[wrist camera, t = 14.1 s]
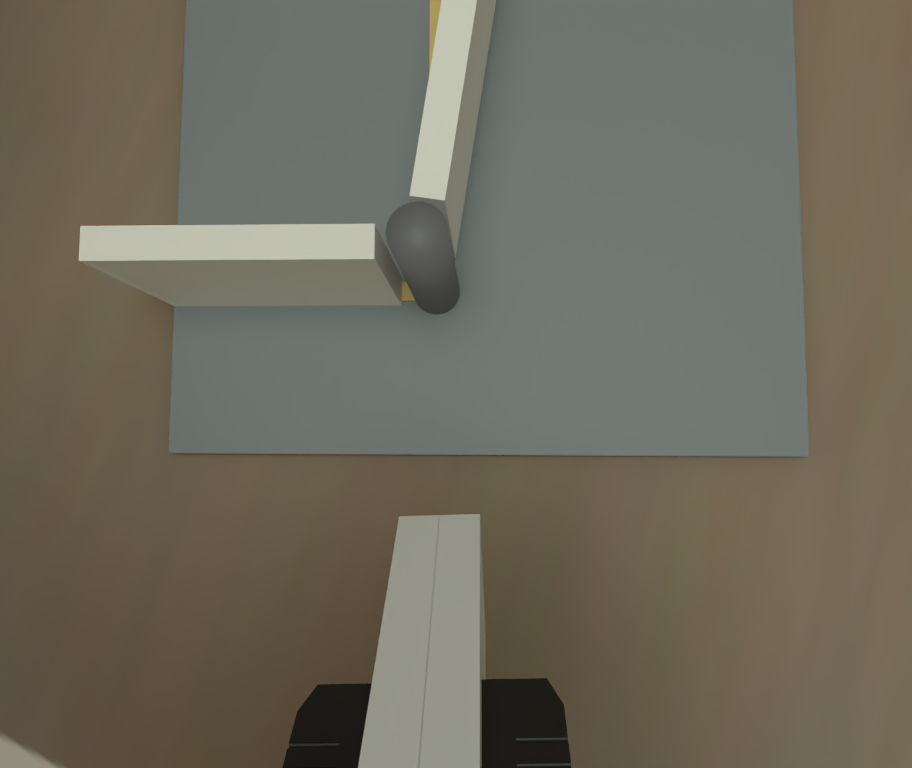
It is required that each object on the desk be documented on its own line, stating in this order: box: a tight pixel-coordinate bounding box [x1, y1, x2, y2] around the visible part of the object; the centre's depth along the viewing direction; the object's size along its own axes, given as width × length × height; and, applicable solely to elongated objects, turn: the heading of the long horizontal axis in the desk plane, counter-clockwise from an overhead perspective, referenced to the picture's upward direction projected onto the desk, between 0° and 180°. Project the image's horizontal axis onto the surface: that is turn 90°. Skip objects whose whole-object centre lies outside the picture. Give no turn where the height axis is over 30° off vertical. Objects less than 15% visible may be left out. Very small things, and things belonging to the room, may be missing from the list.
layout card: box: [169, 0, 809, 457], centre depth 34 cm, size 27×22×1 cm
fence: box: [79, 202, 460, 315], centre depth 30 cm, size 12×2×9 cm, turn 90°
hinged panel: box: [409, 0, 496, 258], centre depth 31 cm, size 13×1×8 cm, turn 171°
